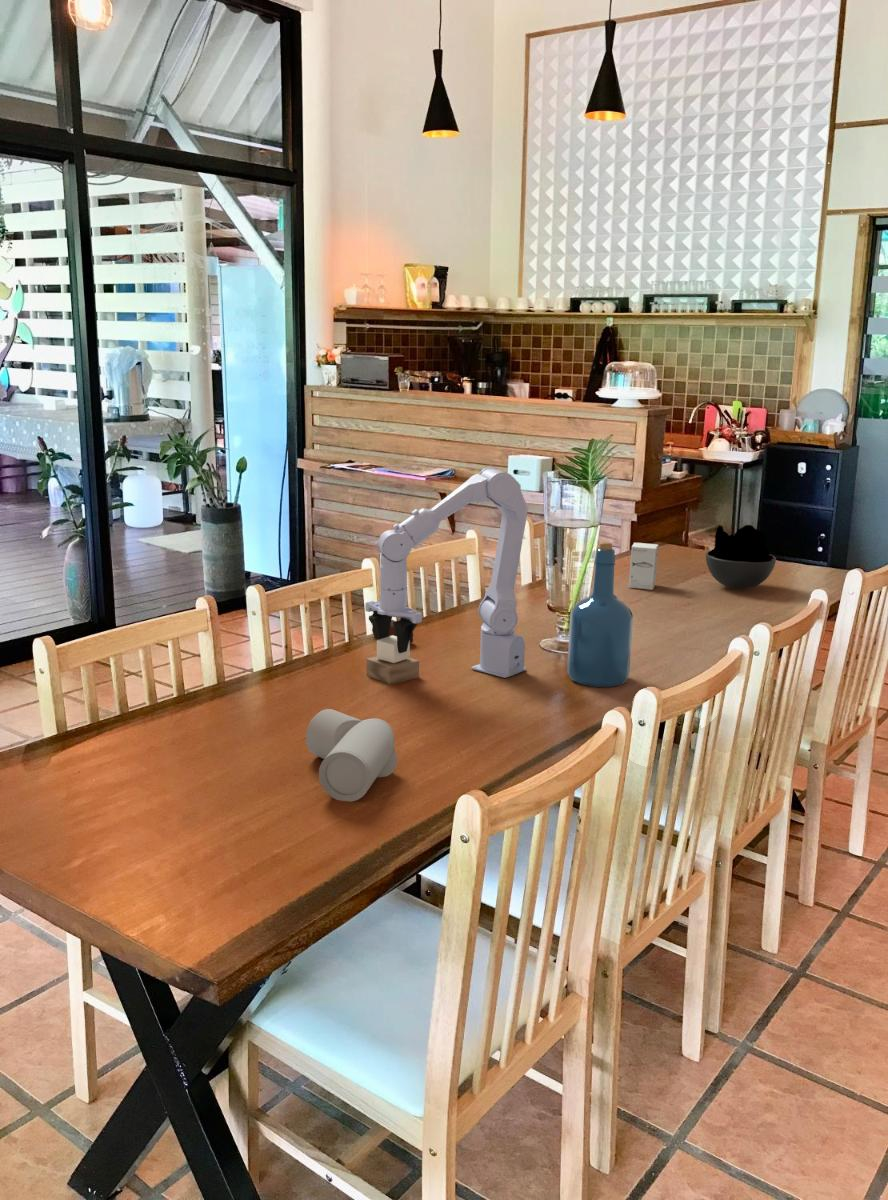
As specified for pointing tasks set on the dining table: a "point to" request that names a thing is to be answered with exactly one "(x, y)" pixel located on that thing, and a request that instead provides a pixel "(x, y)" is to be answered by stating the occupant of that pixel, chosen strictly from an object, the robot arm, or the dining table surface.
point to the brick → (392, 631)
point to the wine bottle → (600, 630)
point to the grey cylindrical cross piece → (350, 752)
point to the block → (391, 650)
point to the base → (392, 670)
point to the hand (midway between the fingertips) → (392, 649)
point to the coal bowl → (740, 558)
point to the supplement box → (643, 566)
